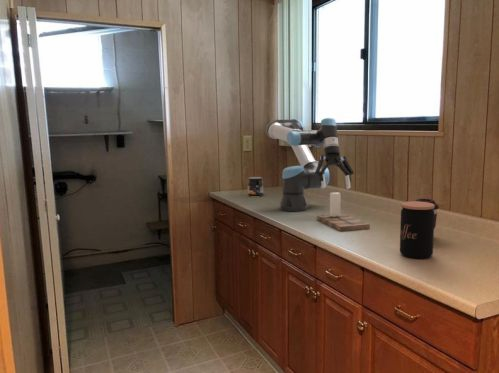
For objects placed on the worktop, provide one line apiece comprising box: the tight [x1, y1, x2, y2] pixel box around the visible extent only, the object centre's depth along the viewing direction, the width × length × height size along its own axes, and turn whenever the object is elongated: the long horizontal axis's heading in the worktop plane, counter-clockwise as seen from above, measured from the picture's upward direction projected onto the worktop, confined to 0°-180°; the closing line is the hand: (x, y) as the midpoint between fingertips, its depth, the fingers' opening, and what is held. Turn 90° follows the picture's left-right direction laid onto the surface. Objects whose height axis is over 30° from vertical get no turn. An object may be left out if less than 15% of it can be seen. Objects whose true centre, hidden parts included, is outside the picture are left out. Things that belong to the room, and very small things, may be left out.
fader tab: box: [329, 192, 342, 217], centre depth 196 cm, size 3×4×11 cm
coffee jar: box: [399, 200, 435, 260], centre depth 142 cm, size 11×11×18 cm
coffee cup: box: [415, 198, 440, 238], centre depth 165 cm, size 10×10×15 cm
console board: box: [316, 213, 371, 232], centre depth 190 cm, size 24×14×2 cm, turn 15°
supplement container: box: [247, 176, 264, 197], centre depth 274 cm, size 10×10×12 cm
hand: (336, 188), depth 203 cm, fingers open, 13 cm apart
